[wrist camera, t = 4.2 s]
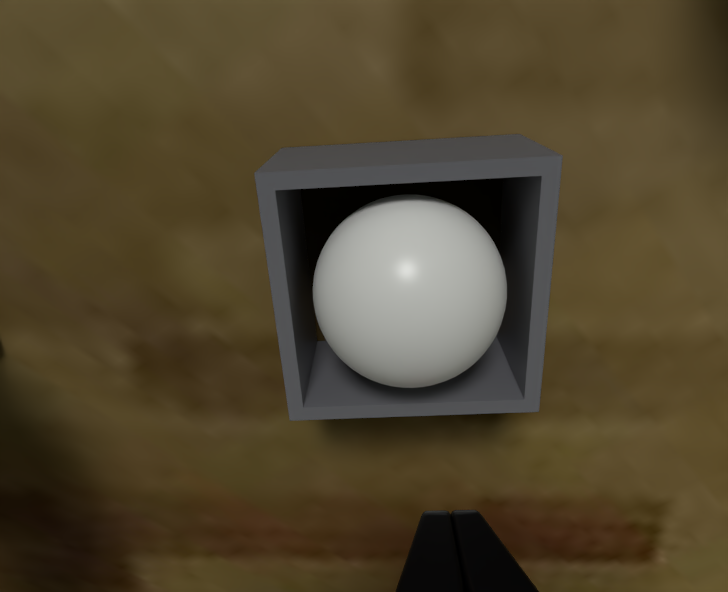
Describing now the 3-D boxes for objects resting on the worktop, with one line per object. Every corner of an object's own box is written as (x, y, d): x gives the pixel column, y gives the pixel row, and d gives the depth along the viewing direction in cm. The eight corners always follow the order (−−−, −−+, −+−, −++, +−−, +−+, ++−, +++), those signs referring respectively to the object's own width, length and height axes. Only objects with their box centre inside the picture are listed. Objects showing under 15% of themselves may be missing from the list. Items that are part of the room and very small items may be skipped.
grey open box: (507, 344, 21) (538, 411, 17) (306, 352, 22) (289, 420, 17) (519, 134, 18) (562, 155, 14) (281, 148, 18) (254, 172, 14)
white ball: (483, 327, 20) (522, 425, 15) (329, 334, 21) (312, 433, 15) (489, 171, 18) (539, 220, 12) (314, 180, 18) (287, 233, 13)
